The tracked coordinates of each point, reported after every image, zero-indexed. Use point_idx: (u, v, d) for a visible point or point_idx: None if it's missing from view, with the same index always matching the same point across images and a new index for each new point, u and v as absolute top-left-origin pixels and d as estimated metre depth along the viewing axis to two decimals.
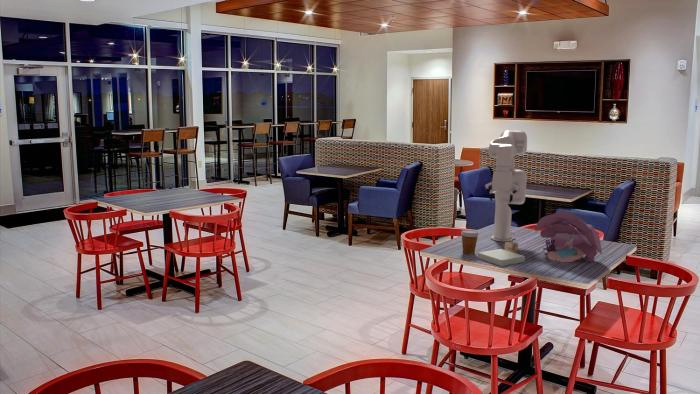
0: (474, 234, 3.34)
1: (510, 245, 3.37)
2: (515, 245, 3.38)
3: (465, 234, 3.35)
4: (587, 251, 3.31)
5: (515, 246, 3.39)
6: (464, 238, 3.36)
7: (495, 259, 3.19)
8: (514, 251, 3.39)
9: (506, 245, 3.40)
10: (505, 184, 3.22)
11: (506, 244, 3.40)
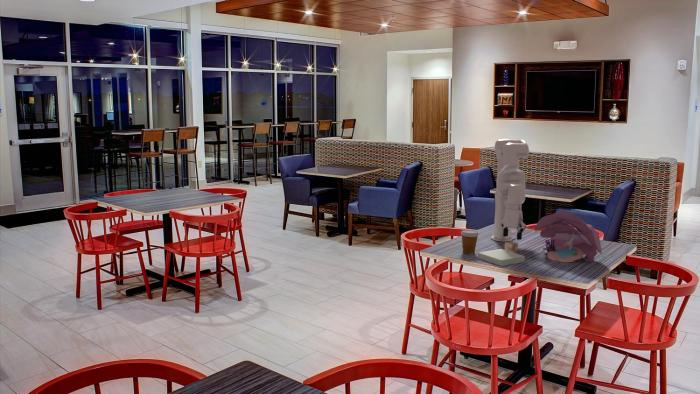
0: (474, 234, 3.34)
1: (510, 245, 3.37)
2: (515, 245, 3.38)
3: (465, 234, 3.35)
4: (587, 251, 3.31)
5: (515, 246, 3.39)
6: (464, 238, 3.36)
7: (495, 259, 3.19)
8: (514, 251, 3.39)
9: (506, 245, 3.40)
10: None
11: (506, 244, 3.40)
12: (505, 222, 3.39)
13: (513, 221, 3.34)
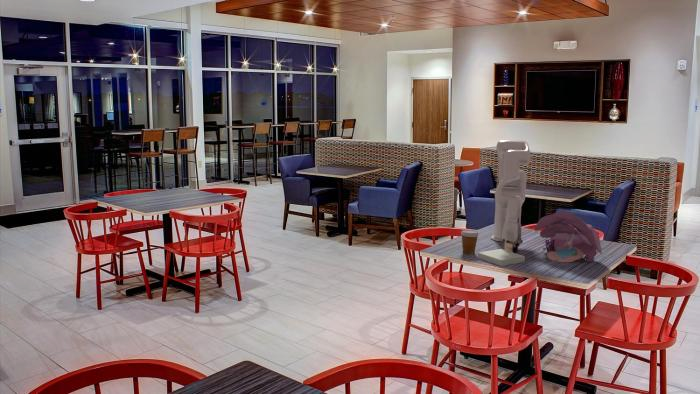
0: (474, 234, 3.34)
1: (510, 245, 3.37)
2: None
3: (465, 234, 3.35)
4: (587, 251, 3.31)
5: None
6: (464, 238, 3.36)
7: (495, 259, 3.19)
8: None
9: (506, 245, 3.40)
10: None
11: (506, 244, 3.40)
12: (504, 235, 3.40)
13: (512, 234, 3.35)
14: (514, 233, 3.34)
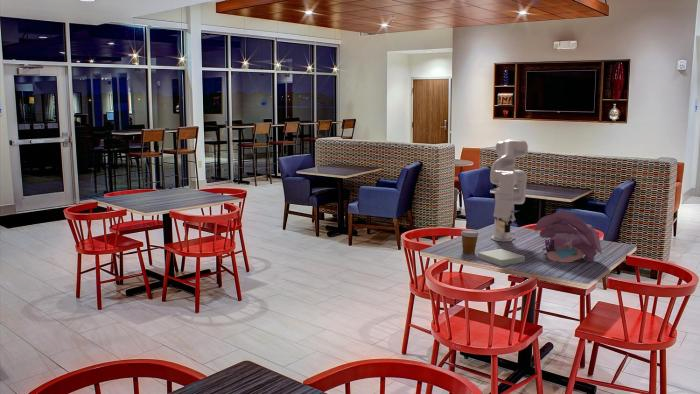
0: (474, 234, 3.34)
1: (502, 223, 3.21)
2: None
3: (465, 234, 3.35)
4: (587, 251, 3.31)
5: None
6: (464, 238, 3.36)
7: (495, 259, 3.19)
8: None
9: (498, 223, 3.24)
10: None
11: (498, 222, 3.24)
12: (496, 212, 3.24)
13: (504, 211, 3.19)
14: (506, 210, 3.18)
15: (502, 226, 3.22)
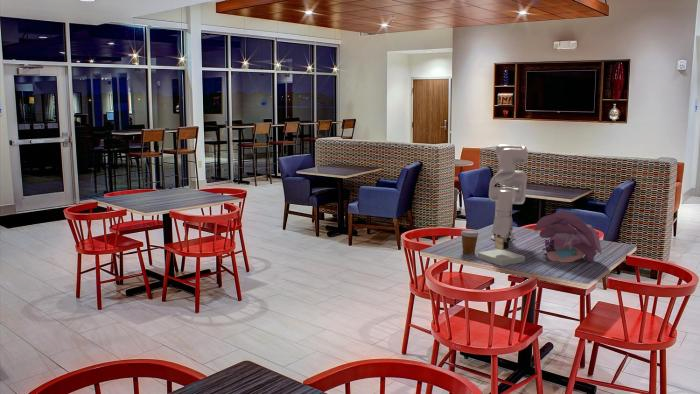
0: (474, 234, 3.34)
1: (501, 240, 3.22)
2: None
3: (465, 234, 3.35)
4: (586, 251, 3.31)
5: None
6: (464, 238, 3.36)
7: (495, 259, 3.19)
8: None
9: (497, 240, 3.25)
10: None
11: (497, 239, 3.25)
12: (494, 229, 3.25)
13: (503, 229, 3.20)
14: (505, 227, 3.19)
15: (501, 243, 3.23)
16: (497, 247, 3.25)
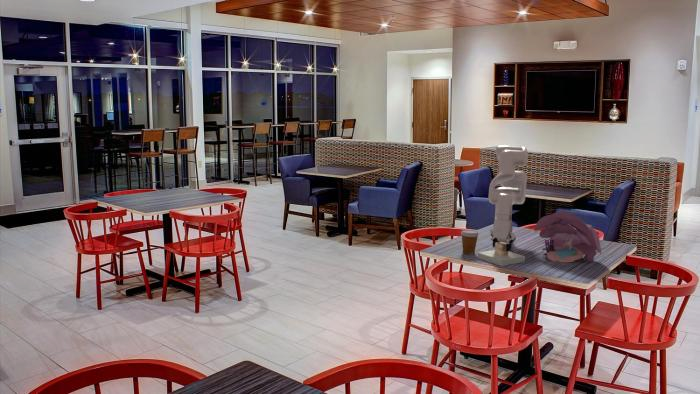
0: (474, 234, 3.34)
1: (500, 245, 3.23)
2: None
3: (465, 234, 3.35)
4: (586, 251, 3.31)
5: None
6: (464, 238, 3.36)
7: (495, 259, 3.19)
8: (504, 252, 3.24)
9: (496, 245, 3.26)
10: None
11: (496, 244, 3.26)
12: (494, 232, 3.26)
13: (502, 232, 3.21)
14: (505, 230, 3.20)
15: (500, 249, 3.23)
16: (497, 253, 3.26)
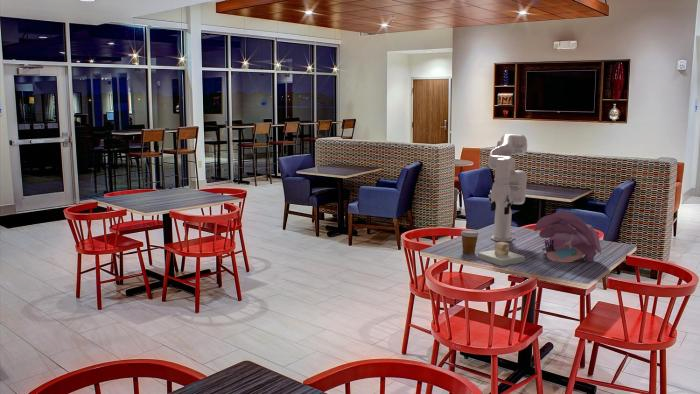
0: (474, 234, 3.34)
1: (500, 245, 3.23)
2: (506, 245, 3.24)
3: (465, 234, 3.35)
4: (586, 251, 3.31)
5: (506, 246, 3.24)
6: (464, 238, 3.36)
7: (495, 259, 3.19)
8: (504, 252, 3.24)
9: (496, 245, 3.26)
10: None
11: (496, 244, 3.26)
12: (493, 196, 3.35)
13: (500, 196, 3.31)
14: (503, 194, 3.29)
15: (500, 249, 3.23)
16: (497, 253, 3.26)
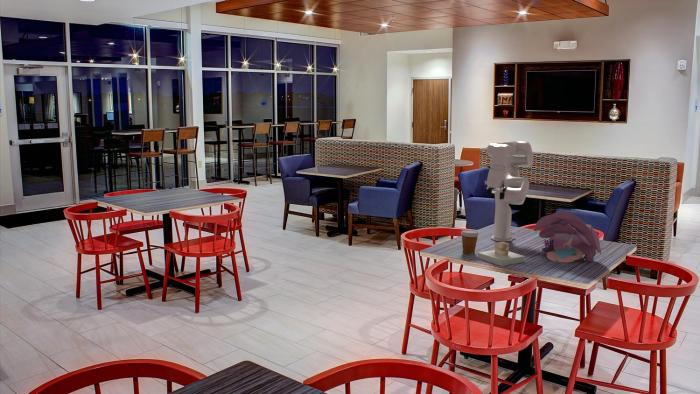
0: (474, 234, 3.34)
1: (500, 245, 3.23)
2: (506, 245, 3.24)
3: (465, 234, 3.35)
4: (586, 251, 3.31)
5: (506, 246, 3.24)
6: (464, 238, 3.36)
7: (495, 259, 3.19)
8: (504, 252, 3.24)
9: (496, 245, 3.26)
10: None
11: (496, 244, 3.26)
12: (489, 182, 3.50)
13: (496, 181, 3.45)
14: (498, 180, 3.44)
15: (500, 249, 3.23)
16: (497, 253, 3.26)
